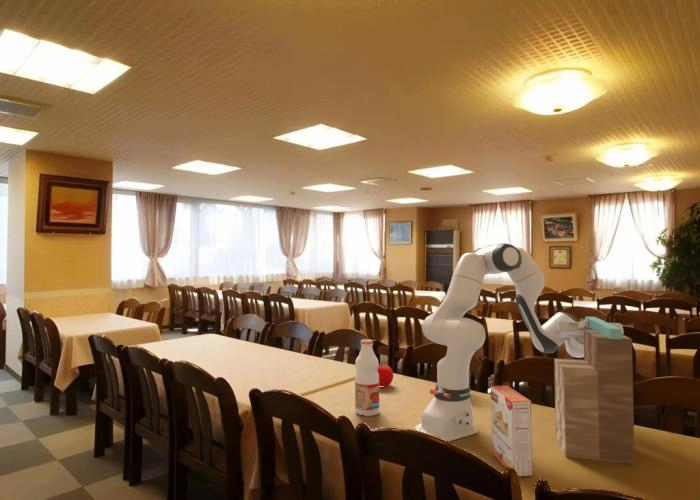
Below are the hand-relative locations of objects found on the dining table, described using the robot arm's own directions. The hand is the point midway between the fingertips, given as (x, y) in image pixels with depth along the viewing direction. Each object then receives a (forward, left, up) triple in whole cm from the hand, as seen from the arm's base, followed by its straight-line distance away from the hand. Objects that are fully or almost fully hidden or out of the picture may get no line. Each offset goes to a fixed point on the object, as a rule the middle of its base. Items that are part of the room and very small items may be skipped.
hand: (594, 321), depth 142 cm
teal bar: (-7, -4, -2) cm, 8 cm away
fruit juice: (-43, +67, -38) cm, 88 cm away
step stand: (-13, -3, -38) cm, 40 cm away
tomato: (-15, +87, -38) cm, 96 cm away
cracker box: (-41, +9, -38) cm, 57 cm away
